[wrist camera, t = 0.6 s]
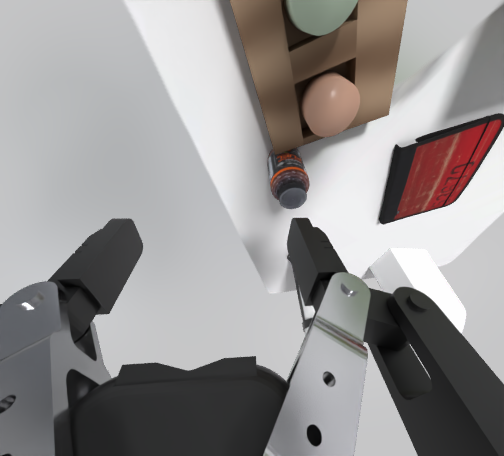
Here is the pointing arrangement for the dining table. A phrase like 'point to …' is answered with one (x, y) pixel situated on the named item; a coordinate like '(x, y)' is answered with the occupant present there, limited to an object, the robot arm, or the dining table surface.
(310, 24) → the sage button
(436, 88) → the dining table surface
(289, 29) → the brown wooden tray
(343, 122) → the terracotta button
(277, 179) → the supplement bottle
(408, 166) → the binder
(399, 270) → the milk
